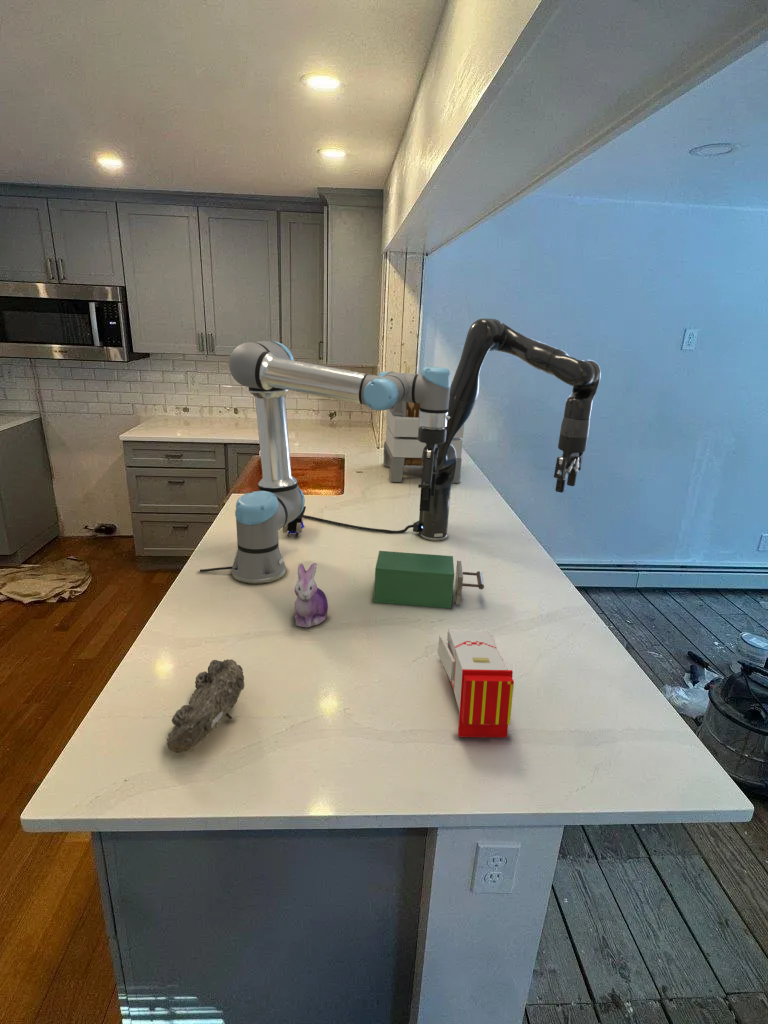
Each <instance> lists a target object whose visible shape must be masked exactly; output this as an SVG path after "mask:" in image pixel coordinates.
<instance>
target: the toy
mask: <svg viewBox="0 0 768 1024" xmlns="http://www.w3.org/2000/svg"><path fill="white" fill-rule="evenodd" d="M446 640H447V643H446V641H445V639H444V636H443V635H442V634H439V637H438V646H437V656H438V657H439V659H440V661H441V663H442V666H443V668H444V670H445V672H446V674H447V677H448V679H449V681H450V684H451V687H452V690H453V693H454V697H455V701H456V705H457V708H458V711H459V714H458V715H459V716H458V730H457V731H458V732H457V737H458V738H508V731H509V726H510V725H511V717H512V707H513V697H514V696H513V695H514V684H515V680H514V679H513V673H514V671H513V670H512V669H508V667H507V665H506V662H505V661H504V659H503V658H502V655H501V653H500V651H499V649H498V647H497V643H496V639H495V637H494V635H493V634H491V632H490V631H489V629H467V628H466V629H465V628H463V629H461V628H460V629H459V628H448V630H447V639H446Z"/></svg>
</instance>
